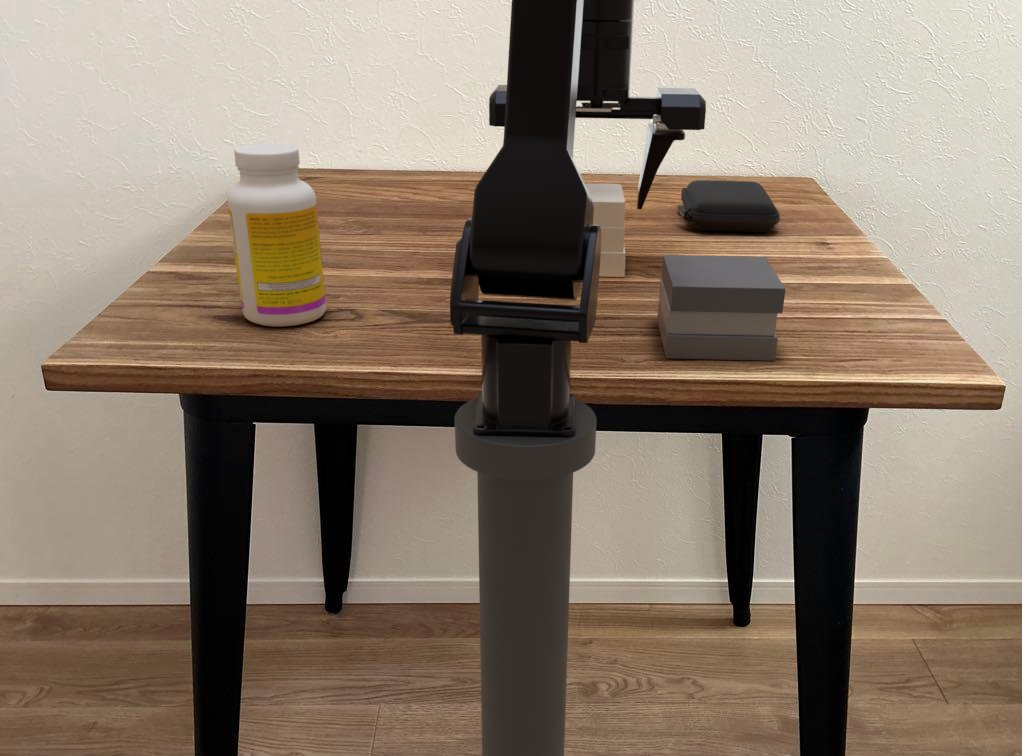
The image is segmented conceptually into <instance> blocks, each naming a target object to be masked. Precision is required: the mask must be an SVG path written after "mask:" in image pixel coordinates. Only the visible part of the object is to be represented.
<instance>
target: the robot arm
mask: <svg viewBox="0 0 1022 756" xmlns="http://www.w3.org/2000/svg"><path fill="white" fill-rule="evenodd" d="M635 2H637V0H511V9H510V23H509V24H510V25H509V43H508V58H507V78H506V84H497V86H496V87H494V89H493V90H492V91H491V93H490V95H489V99H488V126H491V127H502V128H503V142H502V146H501V148H500V150H499V151H498V153H497V154H496V155H495V156H494V158H493V159H492V162H491V163H490V165H489V166H488V167H487V169H486V170H485V172H484V174H483V175H482V177H481V178H480V179H479V181H478V182H477V184H476V185H475V188H474V192H473V202H472V204H473V205H472V215H471V218H467V219H466V221H465V222H464V226H463V231H462V235H461V238H459V239H458V240H457V241H456V243H455V250H454V258H453V267H452V274H451V285H450V296H449V318H450V320H449V321H450V324H449V325H450V326H452V330H453V335H454V336H455V335H456V336H457V335H458V336H464V335H475V336H478V335H479V336H481V337H480V339H481V344H480V345H481V392H480V393H479V394H478V397H479V398H478V397H477V398H478V404H477V409H476V414H475V420H474V425H473V433H474V434H475V435H477V436H511V437H559V438H571V437H574V436H575V432H576V424H575V399H576V396H575V394H574V393H571V363H572V362H571V361H572V342H578V343H579V344H588V343H589V340H590V337H591V334H592V333H593V329H594V327H595V324H596V322H597V321H596V320H597V308H598V297H599V295H598V294H599V282H600V277H599V270H600V257H601V227H600V225H593V214H594V204H593V201H592V198H591V196H590V194H589V192H588V190H587V188H586V186H585V184H584V183H585V181H584V179H583V178H582V175H581V173H580V171H579V169H578V167H577V165H576V162H575V160H574V146H575V145H574V144H575V130H576V119H614V120H615V119H616V120H617V119H618V120H620V119H622V120H650V121H651V123H647V128H646V135H645V136H646V137H645V145H644V151H643V157H642V162H641V168H640V172H639V179H638V184H637V185H638V186H637V194H636V195H637V196H636V209H637V210H642V209H643V207H644V204H645V202H646V199H647V197H648V194H649V192H650V190H651V188H652V185H653V182H654V180H655V177H656V175H657V173H658V170H659V168H660V166H661V164H662V163H663V161H664V159H665V158H666V155H667V154H668V152H669V150H670V148H671V147H672V145H673V143H674V142H675V141H683V140H685V139H686V133H685V131H702V130H705V124H706V113H707V101H706V99H704V97H703V96H702V95H701V94H700V93H699V91H698V90H697V89H696V88H695V87H691V88H690V87H657V88H656V93H655V94H656V95H655V96H630V93H631V77H632V76H631V74H632V73H631V72H632V56H633V35H634V34H633V33H634V13H635ZM577 102H581V103H580V105H578V106H577ZM580 290H581V293H580ZM480 292H481V293H482V295H484V296H497V297H513V298H529V299H545V300H547V299H548V300H559V301H560V300H561V301H563V300H564V301H577V300H578V298H579V295H580V299H579V300H580V301H579V305H570V304H569V305H567V304H566V305H565V304H551V303H550V304H549V303H534V302H520V301H518V302H517V301H504V300H487V299H479V297H480V296H479V295H480Z"/></svg>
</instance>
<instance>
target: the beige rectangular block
mask: <svg viewBox="0 0 1022 756" xmlns="http://www.w3.org/2000/svg"><path fill="white" fill-rule="evenodd" d="M584 184H585V186H586V188H587V190H588V192H589V194H590V196H591V198H592V201H593V204H594V214H593V225H600V227H625V217H626V199H625V196H624V191H623V187H622V184H621V183H591V182H590V183H589V182H588V183H586V182H584Z"/></svg>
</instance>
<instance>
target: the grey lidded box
mask: <svg viewBox="0 0 1022 756" xmlns="http://www.w3.org/2000/svg"><path fill="white" fill-rule="evenodd" d="M786 290H787V289H786V287H785V286H784V284H783V283H782V281H781V279H780V277H779V276H778V274H777V273H776V272H775V269H774V268H773V267H772V265H771V263H770V262H769V260H768V258H767V257H766V256H733V255H732V256H731V255H729V256H728V255H684V254H683V255H681V254H680V255H678V254H663V256H662V268H661V277H660V278H659V291H658V306H657V318H656V319H657V320H656V323H657V326H658V330H659V335H660V339H661V343H662V347H663V351H664V355H665V359H667V360H668V359H669V360H672V359H673V360H715V361H716V360H717V361H719V360H720V361H763V362H764V361H768V362H771V361H772V362H775V360H776V356H777V355H776V354H777V349H778V347H777V346H778V339H779V337H778V335H777V334H776V329H777V321H778V314H783V312H784V305H785V297H786Z"/></svg>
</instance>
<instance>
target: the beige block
mask: <svg viewBox="0 0 1022 756" xmlns="http://www.w3.org/2000/svg"><path fill="white" fill-rule="evenodd" d="M625 233H626V227H625V226H624V227H601V257H600V270H599V278H601V277H602V278H603V277H605V278H624V277H625V276H626V256H627V254H626V253H627V251H626V248H625V235H626V234H625Z"/></svg>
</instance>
